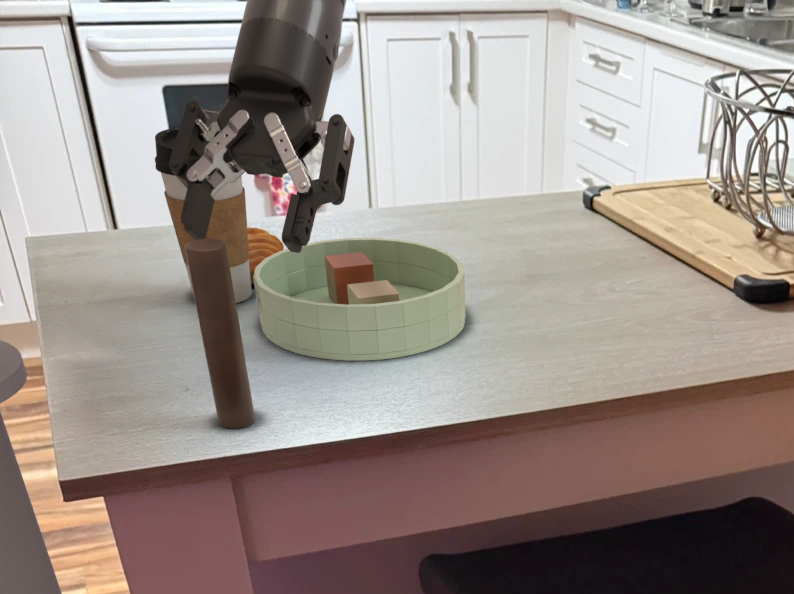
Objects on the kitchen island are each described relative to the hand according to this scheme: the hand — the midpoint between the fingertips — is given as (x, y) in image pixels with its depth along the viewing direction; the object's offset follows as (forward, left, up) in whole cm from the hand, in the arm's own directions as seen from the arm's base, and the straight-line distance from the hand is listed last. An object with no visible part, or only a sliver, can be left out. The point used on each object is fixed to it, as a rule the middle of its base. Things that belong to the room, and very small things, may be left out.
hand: (241, 241), depth 82 cm
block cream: (+13, +10, -12) cm, 20 cm away
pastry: (+6, +32, -13) cm, 35 cm away
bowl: (+13, +14, -13) cm, 23 cm away
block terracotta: (+13, +19, -12) cm, 26 cm away
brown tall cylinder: (-3, -4, -13) cm, 14 cm away
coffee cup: (+1, +26, -13) cm, 29 cm away
